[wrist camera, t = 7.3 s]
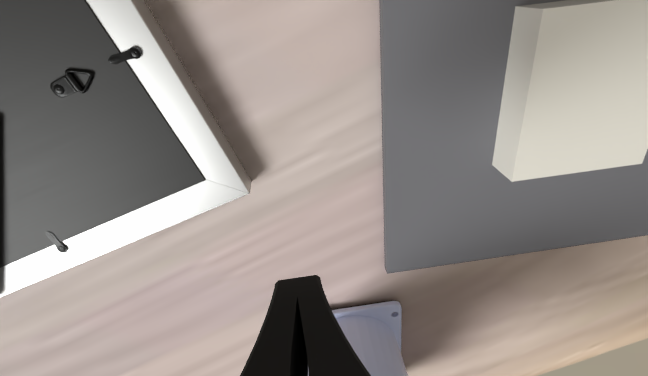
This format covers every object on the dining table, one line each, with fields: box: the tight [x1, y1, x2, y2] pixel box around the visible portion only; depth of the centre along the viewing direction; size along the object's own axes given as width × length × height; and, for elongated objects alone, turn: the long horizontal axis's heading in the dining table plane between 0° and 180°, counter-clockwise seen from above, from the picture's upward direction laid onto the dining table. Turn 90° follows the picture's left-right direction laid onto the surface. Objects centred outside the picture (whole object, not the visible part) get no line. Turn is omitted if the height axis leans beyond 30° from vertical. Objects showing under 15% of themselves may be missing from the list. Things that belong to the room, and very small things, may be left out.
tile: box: [492, 0, 648, 182], centre depth 18 cm, size 8×2×7 cm
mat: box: [380, 0, 648, 274], centre depth 19 cm, size 22×18×1 cm
